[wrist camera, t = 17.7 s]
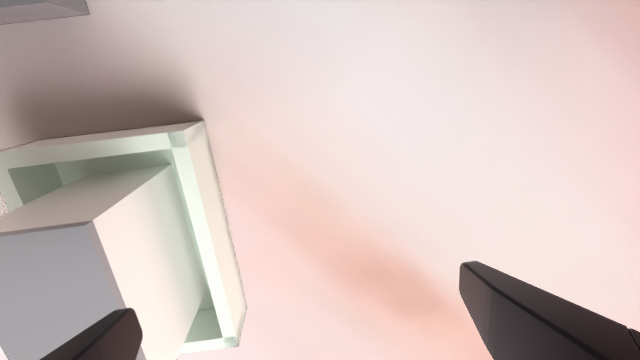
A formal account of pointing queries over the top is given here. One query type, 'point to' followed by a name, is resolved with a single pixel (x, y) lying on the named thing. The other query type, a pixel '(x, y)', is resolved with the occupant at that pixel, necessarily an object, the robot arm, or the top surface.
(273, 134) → the top surface
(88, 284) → the grey rectangular block
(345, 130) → the top surface
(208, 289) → the tray
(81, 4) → the dock
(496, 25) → the top surface
